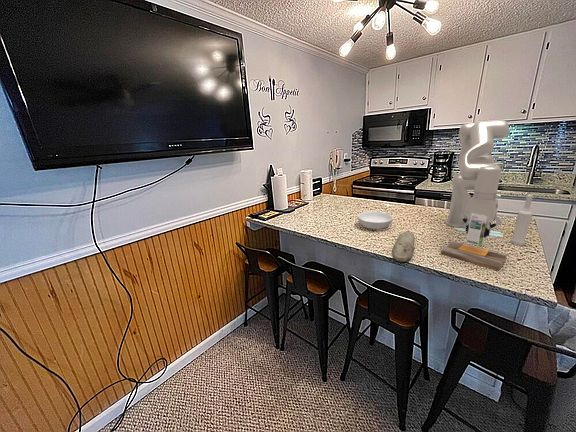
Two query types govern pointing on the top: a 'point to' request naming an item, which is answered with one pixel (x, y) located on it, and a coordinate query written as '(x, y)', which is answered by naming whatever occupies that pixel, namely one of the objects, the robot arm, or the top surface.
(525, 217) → the bottle
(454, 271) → the top surface
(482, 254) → the orange rectangular panel
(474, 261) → the wooden tray
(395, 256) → the elongated rock
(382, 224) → the serving bowl
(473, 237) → the syrup box
